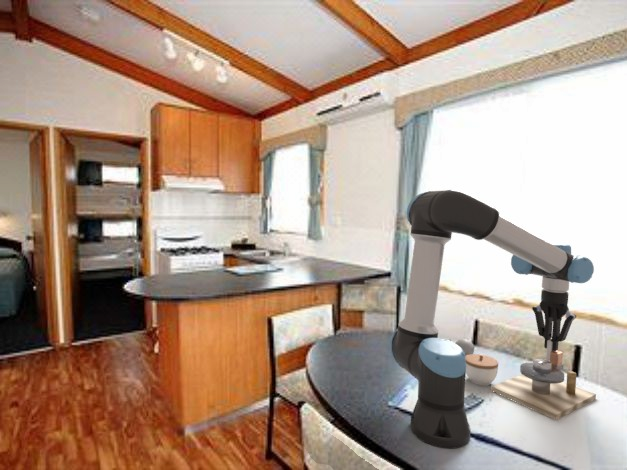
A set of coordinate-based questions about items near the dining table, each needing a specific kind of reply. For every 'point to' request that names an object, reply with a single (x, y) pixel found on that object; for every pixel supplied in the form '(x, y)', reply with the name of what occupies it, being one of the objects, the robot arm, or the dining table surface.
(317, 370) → the dining table surface
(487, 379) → the lidded jar
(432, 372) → the robot arm
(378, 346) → the dining table surface
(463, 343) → the round bodied animal figurine
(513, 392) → the flange base
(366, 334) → the dining table surface
